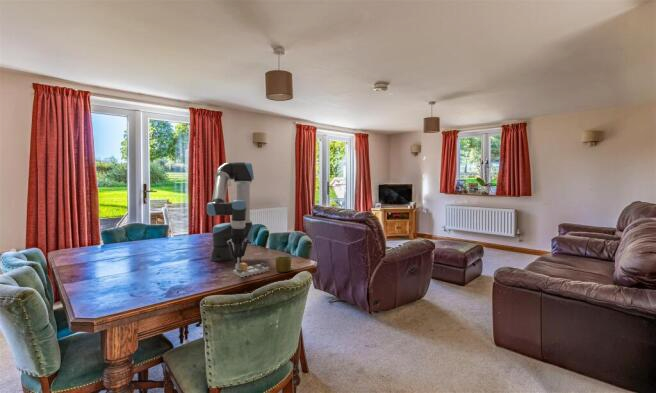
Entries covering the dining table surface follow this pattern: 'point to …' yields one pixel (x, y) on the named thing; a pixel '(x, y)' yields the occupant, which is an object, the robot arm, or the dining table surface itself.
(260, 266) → the console
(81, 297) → the dining table surface
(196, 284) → the dining table surface
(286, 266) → the mug
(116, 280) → the dining table surface
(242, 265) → the fader
